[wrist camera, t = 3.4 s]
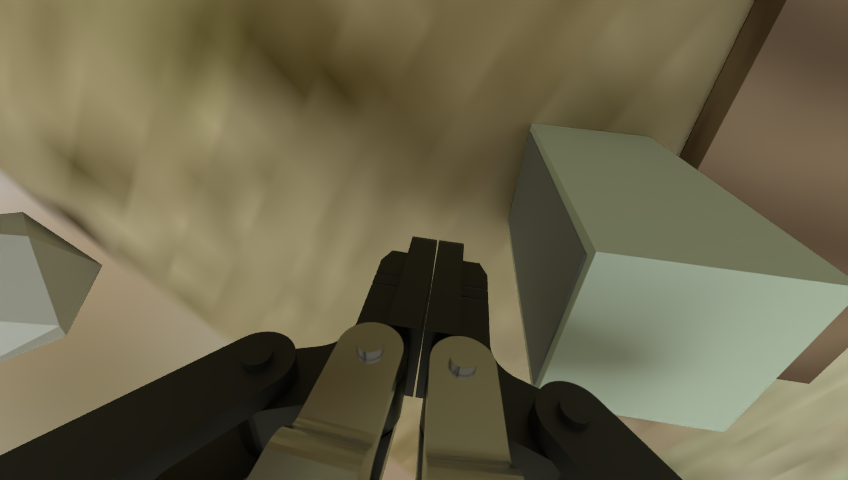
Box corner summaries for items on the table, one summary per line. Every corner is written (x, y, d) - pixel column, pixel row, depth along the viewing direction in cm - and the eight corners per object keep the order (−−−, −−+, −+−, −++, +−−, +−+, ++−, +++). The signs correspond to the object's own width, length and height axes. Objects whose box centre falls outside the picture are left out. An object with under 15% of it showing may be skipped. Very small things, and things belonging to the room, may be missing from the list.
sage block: (530, 122, 15) (593, 251, 7) (650, 136, 15) (865, 288, 7) (506, 222, 18) (531, 401, 10) (607, 236, 18) (723, 432, 9)
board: (784, -58, 12) (821, -67, 10) (1163, -27, 11) (1254, -32, 10) (594, 332, 21) (601, 352, 20) (788, 361, 21) (809, 383, 19)
